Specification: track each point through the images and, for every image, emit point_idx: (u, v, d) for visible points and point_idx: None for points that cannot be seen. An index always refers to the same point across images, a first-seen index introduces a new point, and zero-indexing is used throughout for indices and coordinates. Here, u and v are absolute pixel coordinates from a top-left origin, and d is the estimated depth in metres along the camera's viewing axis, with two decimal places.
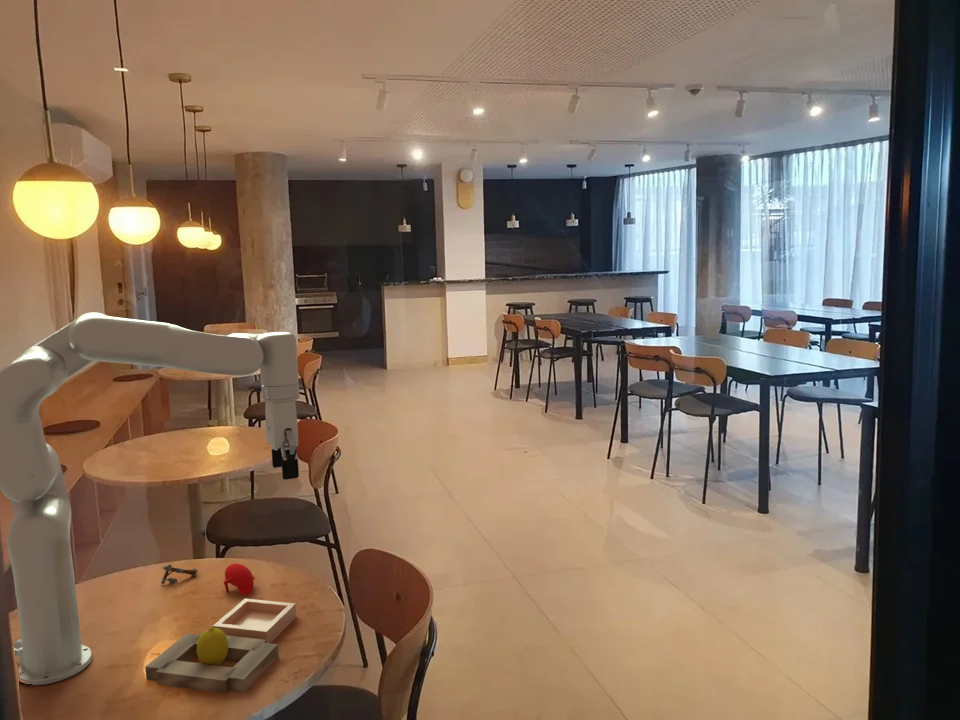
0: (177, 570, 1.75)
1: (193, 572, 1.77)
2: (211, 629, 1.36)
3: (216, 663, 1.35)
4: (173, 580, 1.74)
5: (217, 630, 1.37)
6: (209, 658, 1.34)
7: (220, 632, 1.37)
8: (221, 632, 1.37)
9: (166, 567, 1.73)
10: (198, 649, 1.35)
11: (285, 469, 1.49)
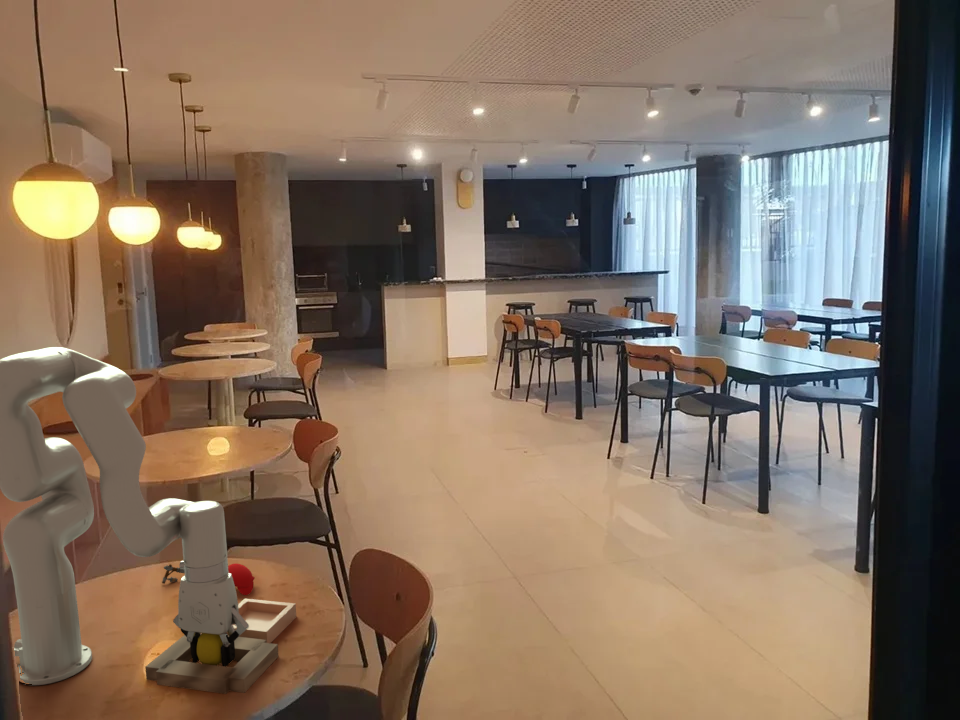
0: (178, 570, 1.75)
1: None
2: None
3: (216, 663, 1.35)
4: (174, 580, 1.74)
5: None
6: (209, 658, 1.34)
7: None
8: None
9: (167, 567, 1.73)
10: (198, 649, 1.35)
11: (226, 655, 1.35)
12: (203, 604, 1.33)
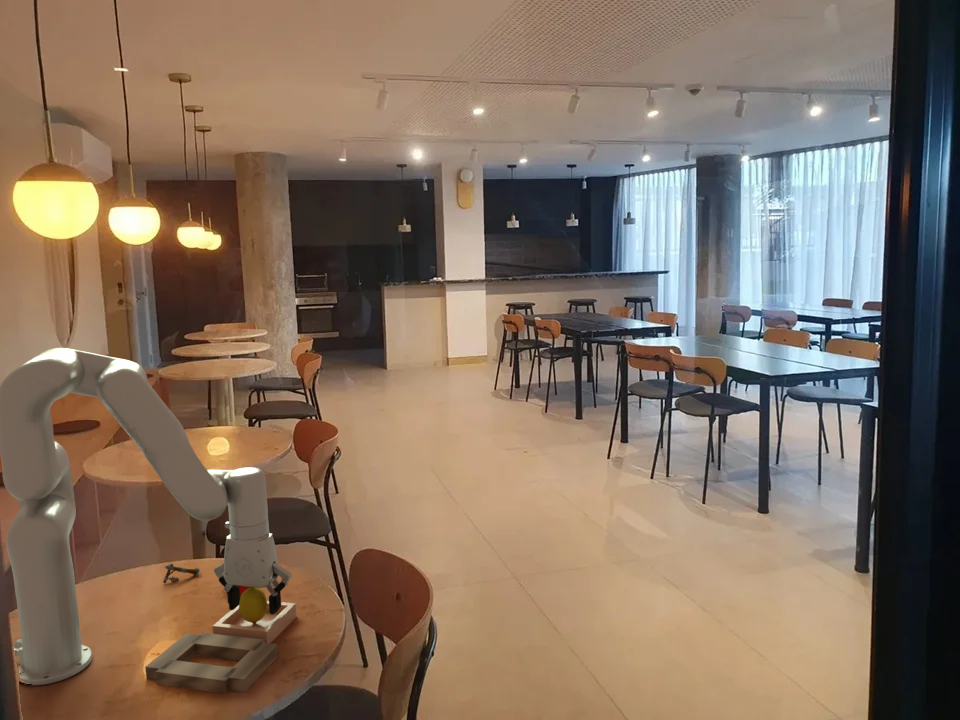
0: (179, 569, 1.75)
1: (195, 571, 1.77)
2: (252, 588, 1.50)
3: (257, 619, 1.50)
4: (175, 579, 1.75)
5: (257, 589, 1.51)
6: (251, 613, 1.49)
7: (260, 591, 1.51)
8: (261, 591, 1.51)
9: (168, 566, 1.73)
10: (241, 606, 1.49)
11: (273, 604, 1.49)
12: (247, 560, 1.47)
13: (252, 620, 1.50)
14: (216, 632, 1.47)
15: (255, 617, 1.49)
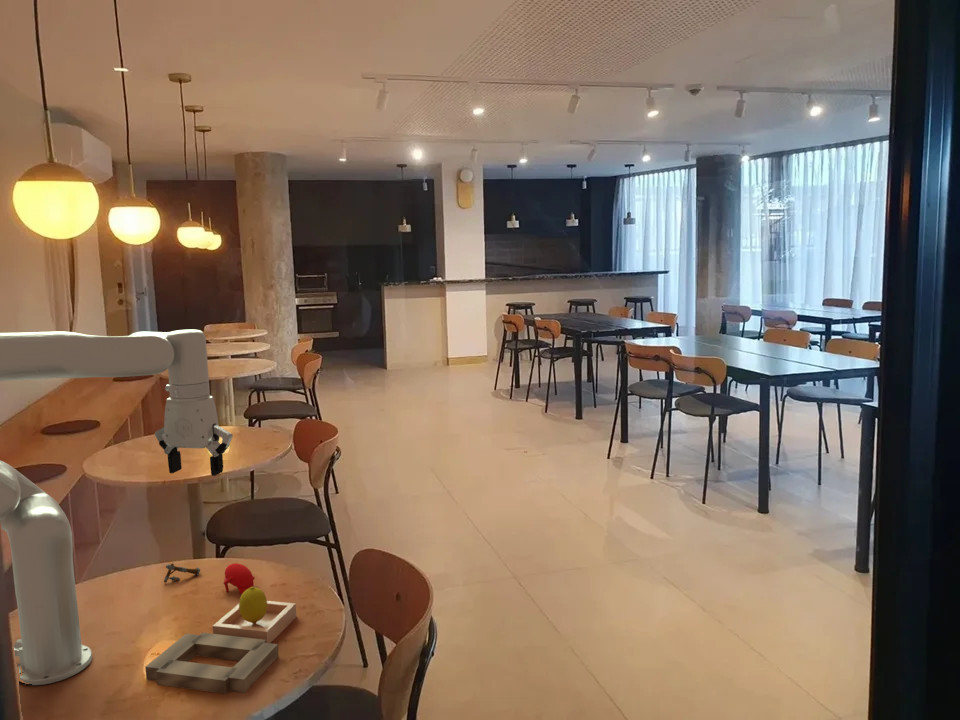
0: (180, 569, 1.75)
1: (196, 571, 1.77)
2: (252, 588, 1.50)
3: (257, 619, 1.50)
4: (176, 579, 1.75)
5: (257, 589, 1.51)
6: (251, 613, 1.49)
7: (260, 591, 1.51)
8: (261, 591, 1.51)
9: (168, 566, 1.74)
10: (241, 606, 1.49)
11: (214, 465, 1.49)
12: (186, 420, 1.47)
13: (252, 620, 1.50)
14: (216, 632, 1.47)
15: (255, 617, 1.49)
